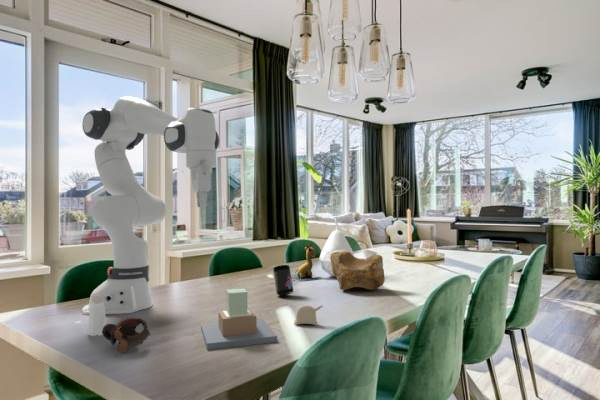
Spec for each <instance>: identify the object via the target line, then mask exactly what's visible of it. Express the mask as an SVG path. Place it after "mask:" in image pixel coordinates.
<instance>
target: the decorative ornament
mask: <svg viewBox="0 0 600 400" xmlns="http://www.w3.org/2000/svg"><path fill="white" fill-rule="evenodd" d="M322 308H323V305H319V306H317V307H315V308H314V307H313V306H311V305H308V304H304V305H301V306H300V307H298V309H297V311H296V315H295V320H294V321H293V322H294V323H293V325H294V326H296V325H301V324H303V325H314V326H318V321H317V313H316V312H317V311H318V310H321V309H322Z"/></svg>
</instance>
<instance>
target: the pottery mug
mask: <svg viewBox="0 0 600 400" xmlns="http://www.w3.org/2000/svg"><path fill="white" fill-rule="evenodd" d="M106 324H107V323H106ZM140 325H142V326H143V330H142V331H141V332H138V331H136V329H137V326H140ZM102 333H103V335H102V336H103V337H104V338H105V339H106V340H107V341H109V342H110V344H111V345H112V346H114V345H116V344H117V341H118V345H119V347H118V352H119V353H123V354H125V353H126V352H127V350H130V349H133V348H135V347H137V346H139V345H141V344H143V343H144V341H146V340H147V339H148V337H149V336H151V333H150V330H149V329H148V324H147V322H146V321H145V320H144V319H142V318H140V317H133V316H132V317H127V318H123V319H121V320H120V321H119V322H118V323H116V324H114V323H108V324H107V325H105V326H104V328H103V330H102Z"/></svg>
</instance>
